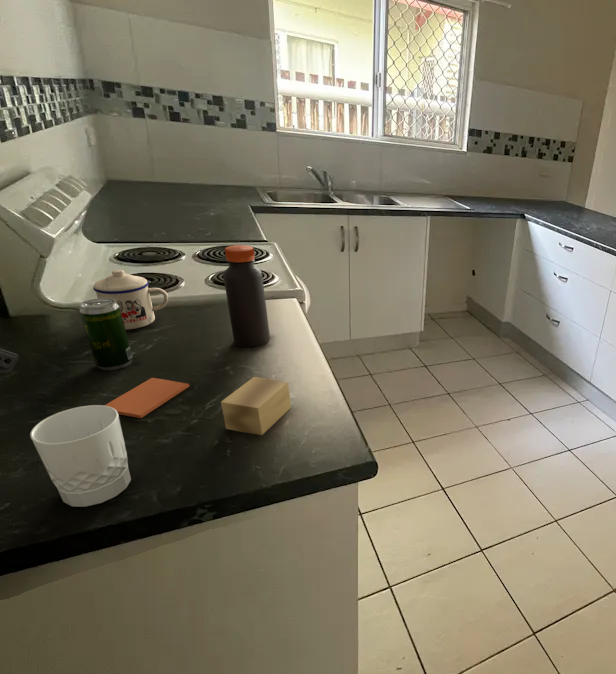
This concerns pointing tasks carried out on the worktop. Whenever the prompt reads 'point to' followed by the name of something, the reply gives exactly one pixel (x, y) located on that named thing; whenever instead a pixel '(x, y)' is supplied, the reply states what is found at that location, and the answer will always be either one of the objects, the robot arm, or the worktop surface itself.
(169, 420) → the worktop surface
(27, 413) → the worktop surface
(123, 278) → the teacup with lid
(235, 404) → the beech block
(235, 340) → the bottle
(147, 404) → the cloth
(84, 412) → the white cup
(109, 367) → the beer can
